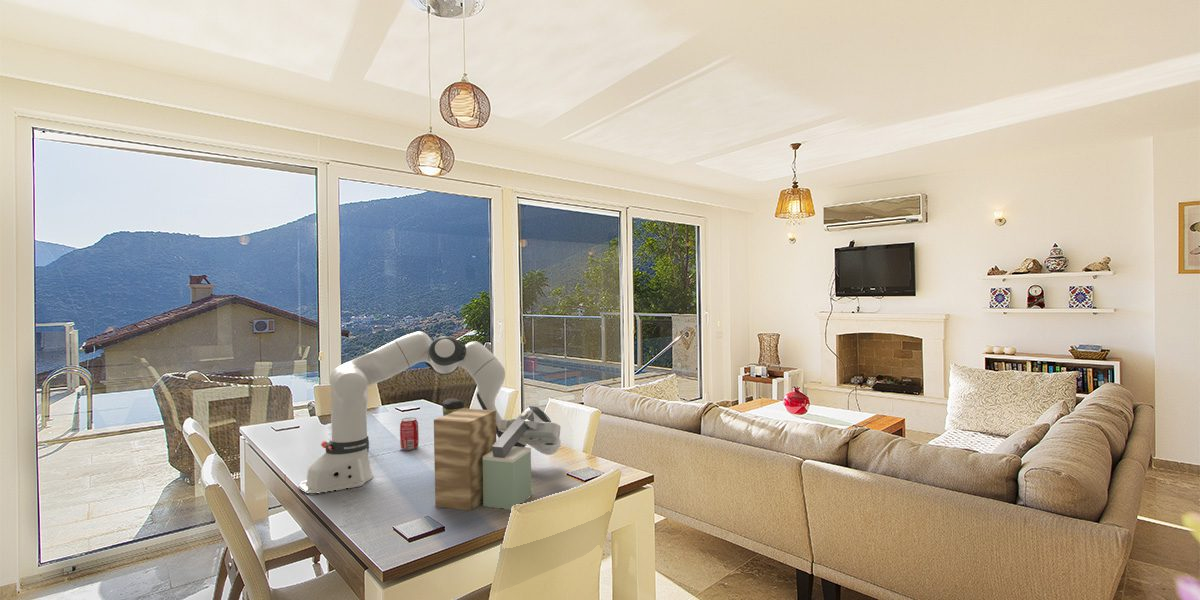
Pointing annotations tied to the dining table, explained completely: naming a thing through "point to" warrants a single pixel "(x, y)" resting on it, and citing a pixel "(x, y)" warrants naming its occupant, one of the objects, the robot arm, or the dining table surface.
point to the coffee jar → (452, 405)
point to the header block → (507, 478)
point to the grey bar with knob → (512, 435)
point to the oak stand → (462, 456)
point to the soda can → (409, 433)
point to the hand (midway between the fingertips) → (519, 421)
